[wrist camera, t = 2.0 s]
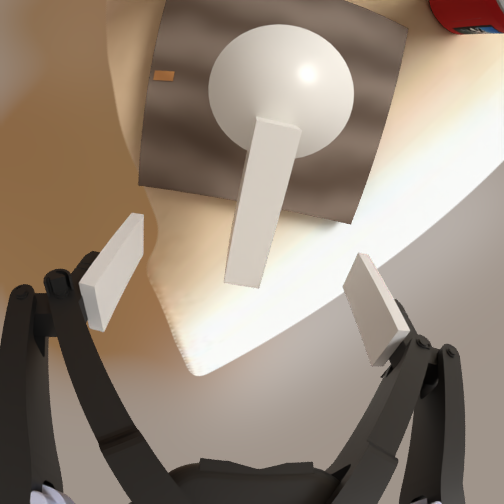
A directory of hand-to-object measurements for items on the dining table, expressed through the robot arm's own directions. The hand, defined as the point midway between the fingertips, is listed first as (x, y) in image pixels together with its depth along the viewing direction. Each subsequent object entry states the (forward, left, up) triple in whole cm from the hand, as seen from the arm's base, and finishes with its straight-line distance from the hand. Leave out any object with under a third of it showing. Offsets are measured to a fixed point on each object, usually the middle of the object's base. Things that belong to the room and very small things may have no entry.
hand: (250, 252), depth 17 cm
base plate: (-9, 0, -16) cm, 18 cm away
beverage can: (-28, +18, -16) cm, 37 cm away
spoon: (-5, 0, -8) cm, 9 cm away
